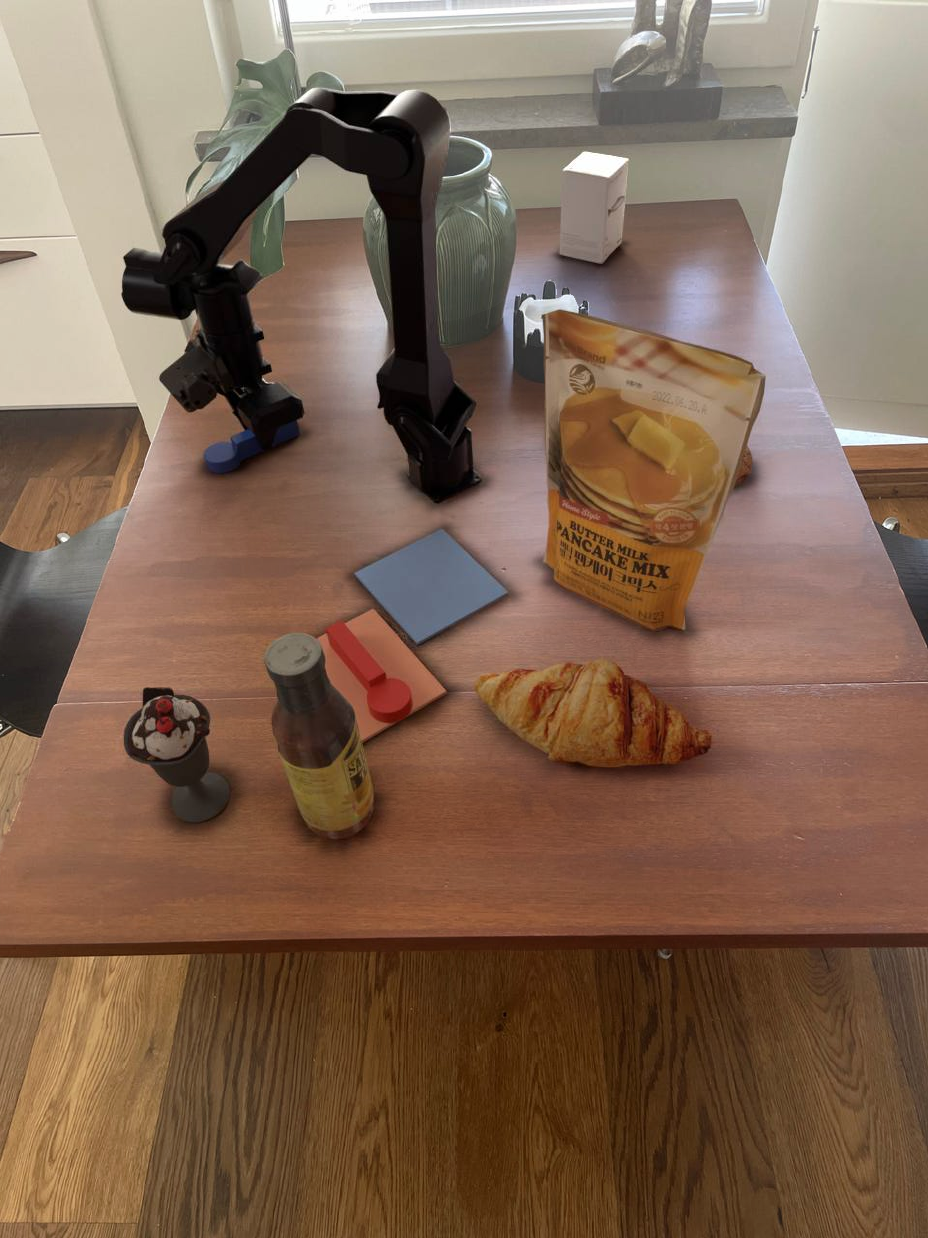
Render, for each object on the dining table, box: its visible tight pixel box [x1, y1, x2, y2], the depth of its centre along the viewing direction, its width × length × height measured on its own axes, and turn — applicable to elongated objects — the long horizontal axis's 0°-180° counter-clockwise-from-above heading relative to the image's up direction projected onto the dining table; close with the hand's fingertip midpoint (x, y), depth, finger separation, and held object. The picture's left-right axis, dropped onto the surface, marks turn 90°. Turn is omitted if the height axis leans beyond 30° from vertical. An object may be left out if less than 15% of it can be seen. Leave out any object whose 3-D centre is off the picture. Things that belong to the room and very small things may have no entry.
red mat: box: [316, 608, 447, 744], centre depth 87 cm, size 10×13×1 cm
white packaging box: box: [558, 151, 629, 265], centre depth 135 cm, size 7×7×13 cm
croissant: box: [474, 657, 713, 768], centre depth 79 cm, size 21×10×8 cm, turn 70°
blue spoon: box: [203, 420, 301, 474], centre depth 110 cm, size 12×4×2 cm, turn 125°
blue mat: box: [354, 528, 510, 646], centre depth 94 cm, size 11×12×1 cm
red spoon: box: [325, 620, 413, 724], centre depth 85 cm, size 12×4×2 cm, turn 35°
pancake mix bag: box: [540, 308, 767, 633], centre depth 82 cm, size 7×19×28 cm, turn 52°
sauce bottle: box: [263, 632, 375, 840], centre depth 70 cm, size 7×6×20 cm
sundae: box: [123, 686, 231, 824], centre depth 73 cm, size 7×7×15 cm
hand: (258, 440), depth 110 cm, fingers open, 4 cm apart
